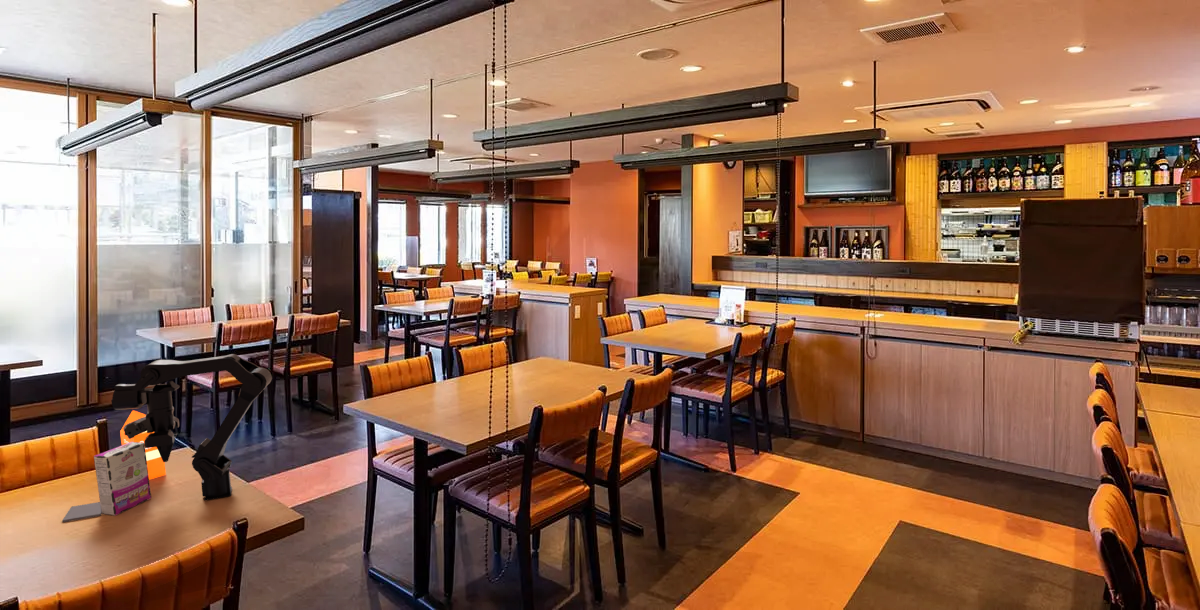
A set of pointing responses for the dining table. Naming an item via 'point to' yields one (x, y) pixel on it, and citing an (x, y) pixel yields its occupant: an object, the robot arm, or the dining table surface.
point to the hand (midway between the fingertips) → (165, 461)
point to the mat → (83, 512)
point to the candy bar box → (122, 478)
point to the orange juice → (152, 454)
